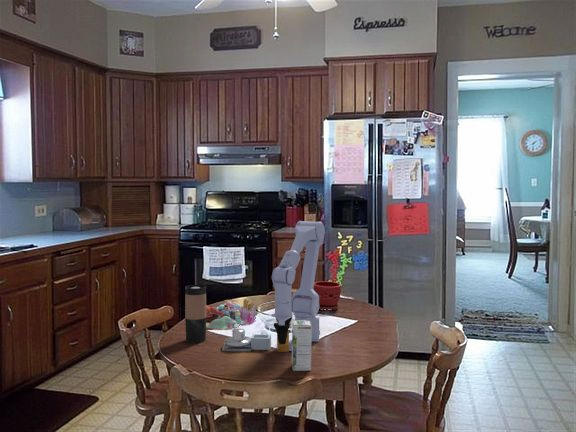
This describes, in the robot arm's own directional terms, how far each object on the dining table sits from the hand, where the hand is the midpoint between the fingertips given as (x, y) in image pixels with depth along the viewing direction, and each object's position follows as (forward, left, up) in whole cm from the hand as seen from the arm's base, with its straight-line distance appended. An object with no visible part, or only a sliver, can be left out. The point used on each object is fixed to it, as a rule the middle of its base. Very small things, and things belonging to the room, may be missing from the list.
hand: (282, 340), depth 182 cm
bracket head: (+8, -7, -3) cm, 11 cm away
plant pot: (-16, -64, -4) cm, 66 cm away
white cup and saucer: (+16, -3, -4) cm, 17 cm away
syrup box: (-7, +17, -4) cm, 19 cm away
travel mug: (+33, -10, -4) cm, 35 cm away
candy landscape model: (+26, -38, -4) cm, 46 cm away
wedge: (0, 0, -4) cm, 4 cm away
